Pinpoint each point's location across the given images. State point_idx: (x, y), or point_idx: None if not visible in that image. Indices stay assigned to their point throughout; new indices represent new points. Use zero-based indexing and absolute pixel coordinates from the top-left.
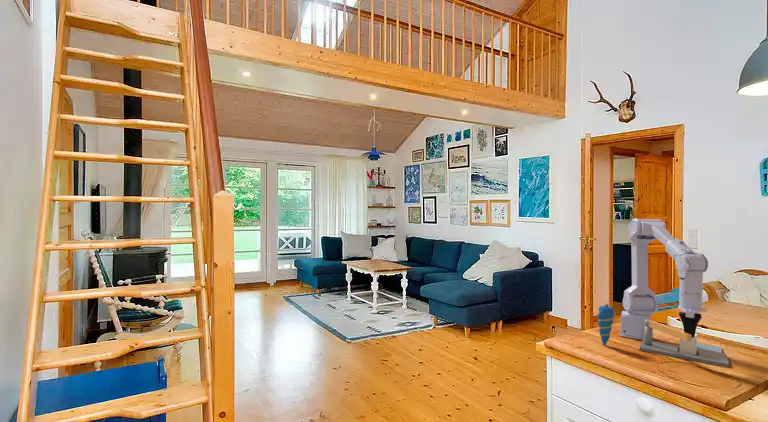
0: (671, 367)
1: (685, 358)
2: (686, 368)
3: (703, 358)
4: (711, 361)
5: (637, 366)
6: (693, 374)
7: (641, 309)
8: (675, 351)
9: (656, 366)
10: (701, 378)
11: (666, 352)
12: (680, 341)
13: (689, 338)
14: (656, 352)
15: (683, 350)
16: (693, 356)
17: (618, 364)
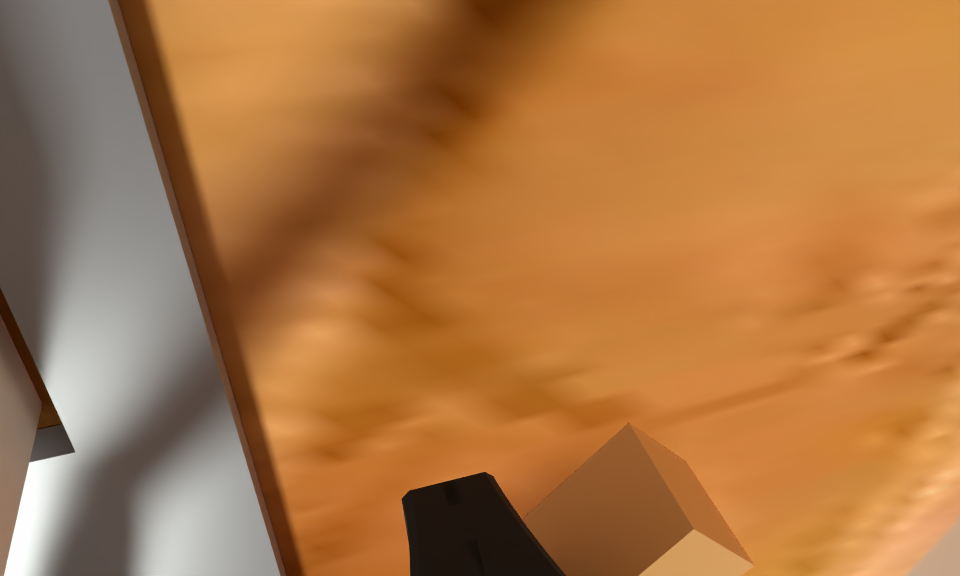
0: (711, 311)
1: (207, 311)
2: (643, 203)
3: (82, 131)
4: (114, 2)
5: (854, 475)
6: (833, 102)
7: None
8: (82, 467)
9: (765, 398)
10: (936, 9)
11: (258, 502)
12: (3, 566)
13: (687, 485)
14: (279, 556)
15: (11, 421)
16: (119, 259)
17: (877, 553)
